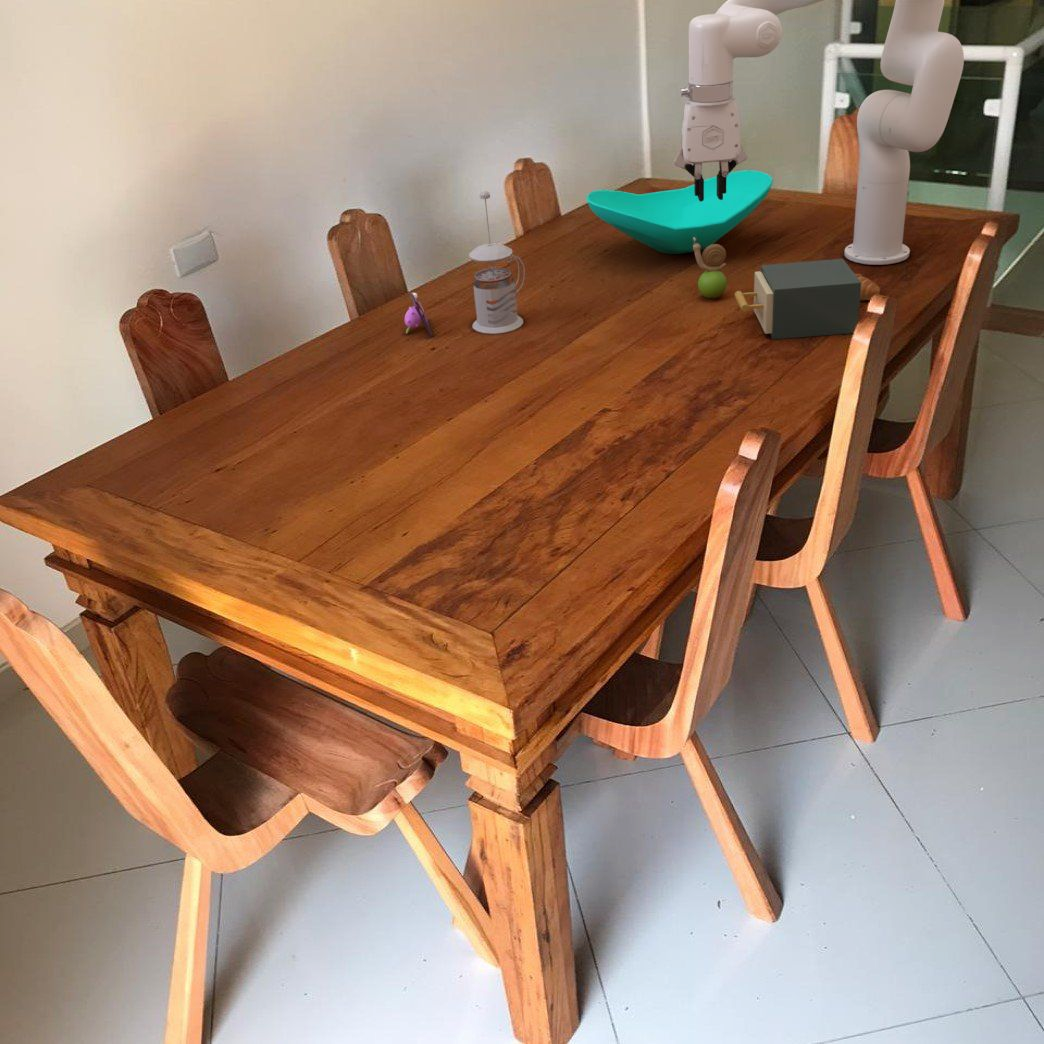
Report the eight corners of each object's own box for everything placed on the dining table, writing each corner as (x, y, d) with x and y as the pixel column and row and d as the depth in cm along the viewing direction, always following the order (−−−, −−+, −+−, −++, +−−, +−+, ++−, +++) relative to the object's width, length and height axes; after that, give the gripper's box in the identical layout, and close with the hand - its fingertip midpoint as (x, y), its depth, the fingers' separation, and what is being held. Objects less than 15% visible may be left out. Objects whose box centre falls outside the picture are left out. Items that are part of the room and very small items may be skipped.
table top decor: (745, 219, 250) (746, 159, 243) (793, 255, 227) (796, 190, 220) (575, 243, 246) (572, 183, 239) (606, 282, 222) (603, 217, 215)
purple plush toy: (420, 304, 202) (414, 288, 209) (395, 317, 202) (390, 301, 210) (436, 335, 205) (430, 318, 213) (412, 347, 206) (406, 330, 213)
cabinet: (772, 339, 191) (774, 289, 187) (759, 313, 202) (760, 265, 197) (857, 332, 191) (861, 282, 186) (839, 306, 202) (842, 258, 197)
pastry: (886, 294, 205) (888, 274, 203) (867, 306, 201) (869, 286, 199) (842, 285, 211) (843, 265, 209) (822, 296, 207) (823, 276, 205)
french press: (462, 324, 210) (446, 193, 197) (510, 307, 215) (498, 178, 202) (491, 337, 203) (477, 202, 190) (541, 319, 208) (530, 187, 195)
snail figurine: (690, 294, 213) (689, 233, 207) (722, 291, 213) (723, 230, 207) (696, 304, 208) (696, 242, 202) (729, 300, 209) (730, 238, 202)
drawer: (742, 335, 192) (743, 295, 188) (732, 311, 201) (732, 273, 198) (843, 327, 191) (846, 287, 187) (827, 304, 201) (830, 265, 197)
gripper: (666, 101, 188) (667, 208, 198) (761, 92, 188) (758, 200, 197) (661, 92, 195) (663, 196, 204) (754, 84, 194) (751, 189, 204)
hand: (710, 197), depth 201 cm, fingers closed
